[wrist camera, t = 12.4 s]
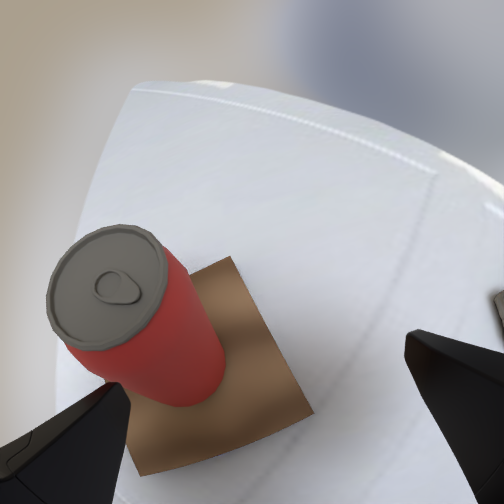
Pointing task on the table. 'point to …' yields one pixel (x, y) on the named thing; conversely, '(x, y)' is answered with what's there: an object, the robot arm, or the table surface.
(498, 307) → the grey irregular stone
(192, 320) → the beer can
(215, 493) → the table surface
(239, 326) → the walnut block
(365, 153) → the table surface
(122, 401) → the robot arm
